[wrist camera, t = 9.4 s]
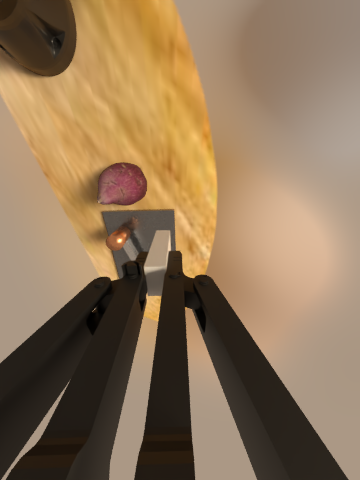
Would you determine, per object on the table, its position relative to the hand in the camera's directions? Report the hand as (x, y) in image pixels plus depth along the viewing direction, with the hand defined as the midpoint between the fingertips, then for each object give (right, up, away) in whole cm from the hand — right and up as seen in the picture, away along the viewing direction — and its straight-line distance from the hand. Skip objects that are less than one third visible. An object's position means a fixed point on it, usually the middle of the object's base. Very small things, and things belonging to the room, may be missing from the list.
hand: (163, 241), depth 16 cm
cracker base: (-10, -2, +30) cm, 32 cm away
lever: (-11, -5, +28) cm, 31 cm away
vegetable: (-12, +15, +22) cm, 29 cm away
